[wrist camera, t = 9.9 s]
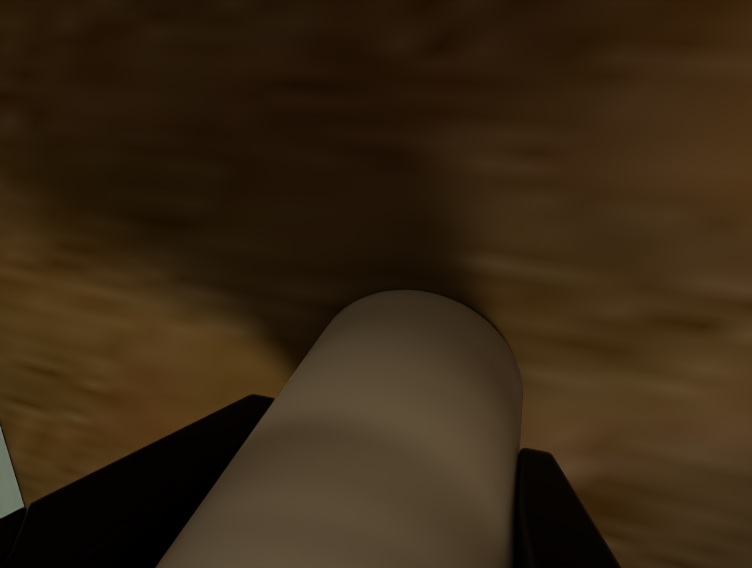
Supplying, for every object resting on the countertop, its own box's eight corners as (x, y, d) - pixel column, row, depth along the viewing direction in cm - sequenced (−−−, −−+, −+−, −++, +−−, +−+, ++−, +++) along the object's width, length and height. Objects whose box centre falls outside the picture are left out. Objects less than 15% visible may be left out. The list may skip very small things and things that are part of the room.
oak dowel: (507, 489, 10) (453, 1200, 4) (315, 447, 11) (24, 992, 5) (538, 307, 9) (529, 1008, 3) (313, 275, 9) (-115, 746, 3)
